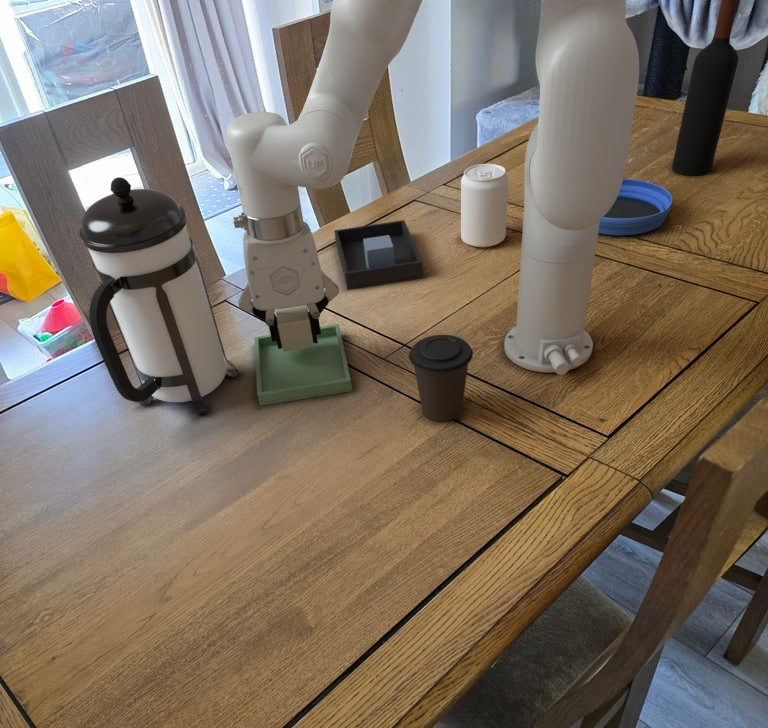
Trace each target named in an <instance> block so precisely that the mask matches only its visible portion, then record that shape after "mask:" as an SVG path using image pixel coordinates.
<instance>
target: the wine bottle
mask: <svg viewBox="0 0 768 728" xmlns="http://www.w3.org/2000/svg"><path fill="white" fill-rule="evenodd" d="M738 4H739V0H721V2H720V8H719V11H718V16H717V18H716V19H717V20H716V23H715V29H714V34H713V37H712V39H711V42H710V43H708V45H706V46H705V47H703V48H702V49H701V50H700V51H699V52H698V54H696V57H695V59H694V62H693V65H692V70H691V75H690V80H689V83H688V89H687V92H686V93H687V95H686V99H685V102H684V103H685V104H684V108H683V113H682V118H681V122H680V127H679V130H678V137H677V140H676V146H675V149H674V150H675V151H674V156H673V161H672V165H671V169H672V171H673V173H675V174H678V175H679V176H680V175H681V176H684V177H685V176H686V177H687V176H688V177H700V176H704V175H707V174H709V173H711V171H712V168H713V164H714V160H715V156H716V152H717V148H718V144H719V140H720V137H721V132H722V128H723V124H724V120H725V117H726V113H727V109H728V104H729V101H730V96H731V91H732V87H733V84H734V80H735V76H736V71H737V68H738V64H739V54H738V52H737V50H736V49H735V48H734V47H733V45H732V44H731V34H732V30H733V25H734V21H735V17H736V14H737V10H738V6H739V5H738Z"/></svg>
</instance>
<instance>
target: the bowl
mask: <svg viewBox="0 0 768 728" xmlns="http://www.w3.org/2000/svg"><path fill="white" fill-rule="evenodd" d="M672 207H673V196H672V194H671V192H670V191H669V190H668V189H666V188H665V187H662V186H660V185H659V184H655V183H653V182H649V181H645V180H639V179H633V178H623V181H622V185H621V189H620V192H619V194H618V197H617V199H616V201H615V203H614V204H613V206H612V207H611V209H610V210H609V211H608V213H607V214H606V215H605V216H604V217H603V218H602V219H600V224H599V232H598V235H599V234H600V235H607V236H619V237H620V236H634V235H641V234H645V233H648V232H651V231H654V230H656V229H657V228H659V227H660V226H662V225H663V223H664V222H665V221H666V219H667V216H668V215H669V213H670V210H671V209H672Z"/></svg>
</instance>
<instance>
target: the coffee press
mask: <svg viewBox="0 0 768 728" xmlns="http://www.w3.org/2000/svg"><path fill="white" fill-rule="evenodd" d="M110 191H111V192H112V194H108V195H106V196H104V197H102V198H99V199H98V200H96V201H95V202H94V203H93V204H92V205H90V206H89V207H88V208H87V209H86V210H85V212H84V214H83V215H82V218H81V224H80V225H81V227H80V229H79V238H80V240H81V243H82V244H83V246H84V247H85V248H86V249H87V250H88V252H89V254H90V256H91V258H92V266H93V268H94V271H95V273H96V276H97V279H98V281H99V283H100V285H99V286H98V287H97V288H96V290H95V292H94V293H93V295H92V297H91V299H90V304H89V311H88V312H89V324H90V329H91V332H92V336H93V338H94V341H95V344H96V346H97V348H98V350H99V353H100V356H101V358H102V360H103V362H104V365H105V367H106V369H107V371H108V374H109V376H110V378H111V381H112V383H113V384H114V386H115V388H116V390H117V392H118V393H119V394H120V396H121V397H122V398H123V399H125V400H127V401H130V402H134V403H139V405H140V406H142V407H147V406H150V404H151V403H152V400H153V399H157V400H160V401H163V402H168V403H185V402H186V403H187V402H191V403H192V405H193V407H194V411H195V413H196V415H197V416H201V415H204V414H207V413H208V411H207V409H206V406H205V402H204V401H203V397H204V396H206V395H208V394H210V393H212V392H213V391H214V390H215V389H217V388H218V387H219V386H220V385H221V384H222V382H223V380H224V379H225V376H226V377H227V376H228V377H230V378H236V377H238V375H239V370H238V368H237V366H236V365H235V364H234V363H233V362H231V361H230V360H229V359H227V356H226V352H225V350H224V345H223V343H222V339H221V336H220V333H219V328H218V325H217V322H216V318H215V315H214V311H213V308H212V305H211V301H210V297H209V294H208V290H207V287H206V284H205V280H204V277H203V274H202V269H201V266H200V263H199V260H198V256H197V252H196V249H195V245H194V243H193V239H192V238H191V237H190V236H189V231H188V229H187V224H188V216H187V213H186V210H185V208H183V206H181V205H180V204H178V202H177V201H176V200H175V199H174V198H173V197H172V196H170V195H169V194H167V193H166V192H163V191H160V190H156V189H150V188H133V189H132V184H130V182H129V181H128V180H127V179H126V178H124V177H115V178H114V179H112V180H111V182H110ZM108 307H109V308H110V310H111V313H112V315H113V318H114V321H115V323H116V326H117V327H118V330H119V332H120V335H121V338H122V340H123V342H124V346H125V348H126V350H127V353H128V355H129V357H130V360H131V362H132V365H133V367H134V369H135V372H136V375H137V377H138V380H139V383H140V385H139V386H138V387H135V386H134V385H133V383H132V382H131V380H130V377H129V376H128V373H127V371H126V369H125V366H124V364H123V361H122V359H121V357H120V354H119V352H118V349H117V346H116V345H115V342H114V340H113V337H112V335H111V333H110V329H109V325H108V320H107V318H108V317H107V313H108ZM226 364H228V365H229V366H230V367H232V368H233V369H234V370H233V371H228V370H227V365H226Z"/></svg>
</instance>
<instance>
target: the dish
mask: <svg viewBox="0 0 768 728" xmlns="http://www.w3.org/2000/svg"><path fill="white" fill-rule="evenodd" d="M320 330H321V334H320V335H317V341H318V343H313V344H314V347H311V348H305V349H298V350H292V351H285V352H283V349H278V346H277V341H275V342H272V339H271V334H266V335H260V336H254V337H253V338H254V358H255V376H256V377H255V379H256V396H257V400H258V403H259V407H261V406H269V405H274V404H281V403H287V402H292V401H298V400H304V399H305V400H306V399H311V398H318V397H324V396H331V395H337V394H343V393H349V392H353V386H352V379H351V374H350V369H349V365H348V361H347V360H348V359H347V355H346V351H345V347H344V343H343V337H342V333H341V329H340V324H339V323H337V324H336V323H335V324H330V325H323V326H320Z"/></svg>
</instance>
